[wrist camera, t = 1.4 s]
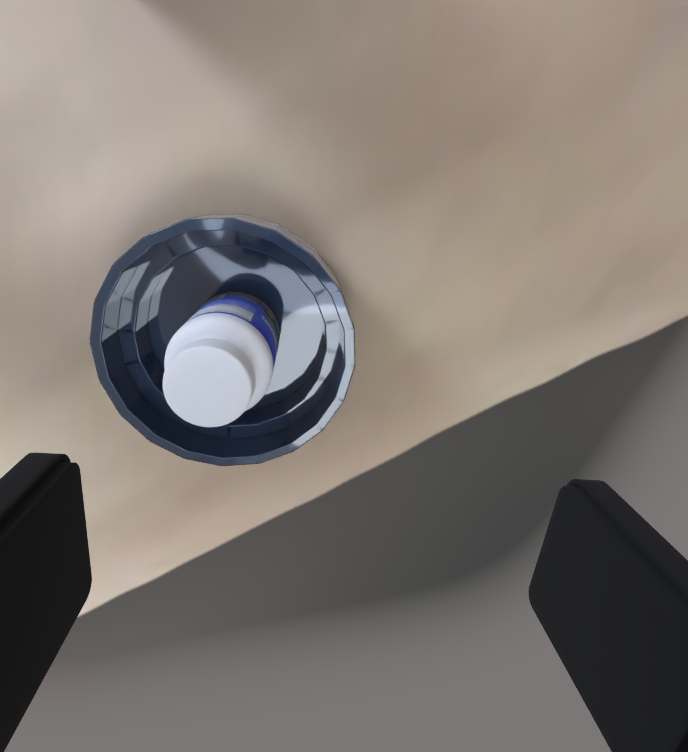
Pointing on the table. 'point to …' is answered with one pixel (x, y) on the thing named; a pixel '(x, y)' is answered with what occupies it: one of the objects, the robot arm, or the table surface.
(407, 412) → the table surface
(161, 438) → the bowl
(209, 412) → the pill bottle
